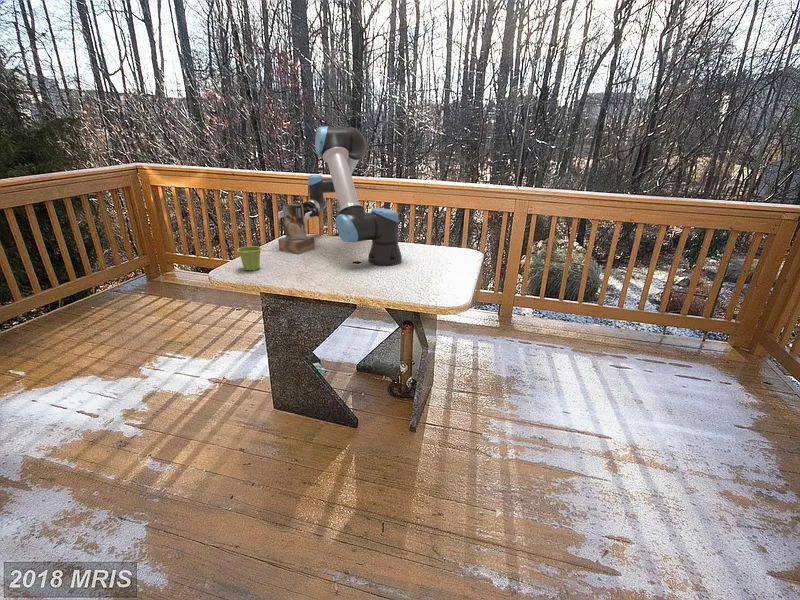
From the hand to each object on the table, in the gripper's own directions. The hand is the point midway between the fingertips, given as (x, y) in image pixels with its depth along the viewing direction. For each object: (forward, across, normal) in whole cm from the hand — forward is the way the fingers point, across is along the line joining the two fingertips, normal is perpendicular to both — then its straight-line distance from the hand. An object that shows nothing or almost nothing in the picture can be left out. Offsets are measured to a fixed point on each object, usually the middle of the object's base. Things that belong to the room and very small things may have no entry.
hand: (292, 216), depth 185 cm
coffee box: (-2, 0, -11) cm, 11 cm away
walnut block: (-1, 0, -17) cm, 17 cm away
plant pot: (+30, +6, -17) cm, 35 cm away
